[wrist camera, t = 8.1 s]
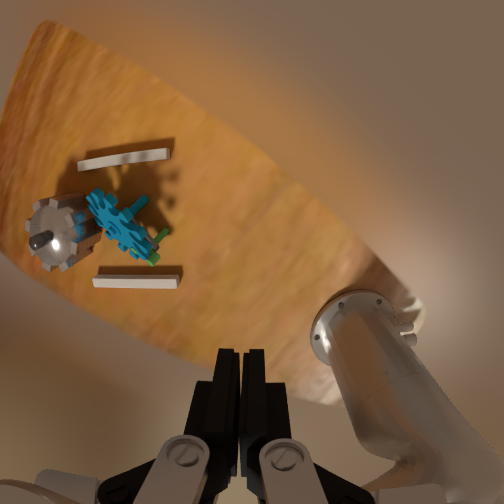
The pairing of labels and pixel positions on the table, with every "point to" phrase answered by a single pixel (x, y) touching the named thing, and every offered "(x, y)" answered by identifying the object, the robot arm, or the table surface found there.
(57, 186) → the table surface
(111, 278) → the guide rails
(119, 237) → the gear
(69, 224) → the sun gear
